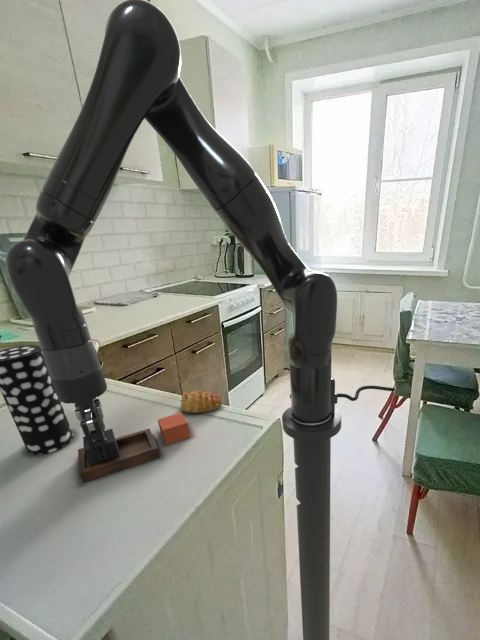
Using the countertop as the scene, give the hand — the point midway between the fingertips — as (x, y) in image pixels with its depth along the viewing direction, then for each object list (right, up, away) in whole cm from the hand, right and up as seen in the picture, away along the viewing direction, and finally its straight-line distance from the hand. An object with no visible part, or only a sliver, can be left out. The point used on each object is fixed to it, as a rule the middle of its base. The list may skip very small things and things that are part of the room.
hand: (103, 452), depth 66 cm
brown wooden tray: (+2, -1, +2) cm, 3 cm away
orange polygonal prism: (+11, +2, +8) cm, 14 cm away
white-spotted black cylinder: (-15, 0, +8) cm, 17 cm away
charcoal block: (0, 0, 0) cm, 0 cm away
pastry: (+13, +7, +19) cm, 24 cm away
